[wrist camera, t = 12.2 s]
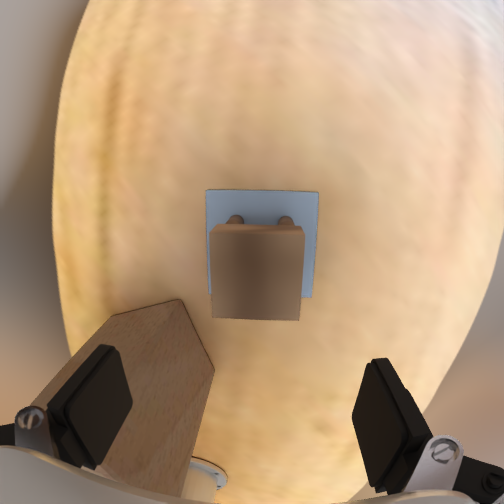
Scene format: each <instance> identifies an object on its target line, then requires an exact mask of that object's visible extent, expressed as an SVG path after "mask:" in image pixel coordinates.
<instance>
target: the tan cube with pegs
mask: <svg viewBox="0 0 504 504" xmlns="http://www.w3.org/2000/svg"><path fill="white" fill-rule="evenodd" d="M209 250H210V277H211V299H212V317H214V318H232V319H254V320H293V321H299V316H300V305H301V293H302V280H303V266H304V251H305V233H304V231H303V229H302V227H301V226H295V224H294V222H293V220H292V218H291V217H289V216H282V217H281V218H280V219H279V220H278V225H256V224H244V219H243V218H242V217H241V216H240V215H233V216H231V217H230V218H229V220H228V221H227V222H226V223H225V224H217V225H216V226H215V227H214V228H213V229H212V230H211V231H210V232H209Z"/></svg>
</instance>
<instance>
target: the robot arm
mask: <svg viewBox="0 0 504 504" xmlns="http://www.w3.org/2000/svg"><path fill="white" fill-rule="evenodd" d="M132 405H133V399H132V396H131V393H130V389H129V386H128V382H127V379H126V375H125V372H124V368H123V364H122V360H121V356H120V353H119V351H118V350H116V348H115V347H114V346H111V345H106V344H100V345H99V346H98V347H97V348H96V349H95V350H94V351H93V352H92V353H91V354H90V355H89V357H88V358H87V359H86V360H85V361H84V362H83V363H82V364H81V365H80V367H79V368H78V369H77V370H76V371H75V372H74V373H73V375H72V376H71V377H70V378H69V379H68V380H67V381H66V382H65V384H64V385H63V386H62V387H61V388H60V389H59V391H58V392H57V393H56V394H55V395H54V396H53V398H52V399H51V400H50V401H49V402H48V403H47V407H48V408H47V409H46V411H45V410H44V409H43V408H41V407H39V406H28V407H25V408H23V409H21V410H20V411H19V412H18V413H17V415H16V416H15V423H12V424H7V425H2V426H0V504H219V503H214V500H215V494H216V490H218V489H220V488H223V487H224V486H225V485H226V483H227V476H226V474H225V473H224V471H223V470H221V469H220V468H219V467H217V466H215V465H213V464H211V463H209V462H207V461H204V460H201V459H197V458H193V457H191V461H190V464H189V468H188V472H187V476H186V479H185V483H184V487H183V491H182V494H181V498H179V497H174V496H169V495H164V494H160V493H156V492H151V491H147V490H144V489H140V488H136V487H133V486H129V485H126V484H123V483H119V482H116V481H113V480H110V479H107V478H104V477H102V476H99V475H96V474H93V473H91V472H88V471H85V470H83V469H81V467H82V465H83V466H84V467H86V468H89V469H91V470H94V471H95V469H96V467H97V465H101V464H102V462H103V460H104V459H105V457H106V455H107V453H108V451H109V449H110V447H111V445H112V443H113V441H114V440H115V438H116V436H117V434H118V432H119V430H120V428H121V427H122V425H123V423H124V421H125V419H126V417H127V416H128V414H129V412H130V410H131V408H132ZM352 422H353V425H354V429H355V432H356V436H357V439H358V443H359V447H360V450H361V454H362V458H363V461H364V465H365V469H366V473H367V477H368V481H369V484H370V486H371V487H375V491H376V493H380V492H385V491H387V494H388V495H387V496H380V497H375V498H369V499H364V500H357V501H350V502H342V503H333V504H504V469H502V468H500V467H498V466H495V465H491V464H488V463H485V462H481V461H478V460H475V459H472V458H469V457H466V456H463V452H464V450H463V446H462V445H461V443H460V442H459V441H458V440H457V439H456V438H454V437H452V436H448V435H438V436H436V437H433V435H432V433H431V431H430V429H429V427H428V425H427V423H426V421H425V419H424V418H423V416H422V414H421V412H420V410H419V408H418V406H417V405H416V403H415V401H414V399H413V397H412V396H411V394H410V392H409V391H408V390H407V389H405V387H404V385H403V384H402V382H401V380H400V378H399V376H398V375H397V373H396V371H395V369H394V368H393V366H392V364H391V363H390V361H389V359H388V358H378V359H372V361H371V363H367V365H366V368H365V372H364V376H363V379H362V383H361V386H360V390H359V393H358V396H357V400H356V403H355V406H354V409H353V412H352Z"/></svg>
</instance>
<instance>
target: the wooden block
mask: <svg viewBox="0 0 504 504" xmlns="http://www.w3.org/2000/svg"><path fill="white" fill-rule="evenodd" d="M100 344H106V345H111V346H114V347H115V348H116V350H118V351H119V353H120V356H121V360H122V364H123V368H124V372H125V375H126V379H127V382H128V386H129V389H130V393H131V396H132V399H133V405H132V408H131V410H130V412H129V414H128V416H127V417H126V419H125V421H124V423H123V425H122V427H121V428H120V430H119V432H118V434H117V436H116V438H115V440H114V441H113V443H112V445H111V447H110V449H109V451H108V453H107V455H106V457H105V459H104V460H103V462H102V464H101V465H97V467H96V469H95V471H94V470H91V469H89V468H86V467H84V466H83V465H82V467H81V469H83V470H85V471H88V472H91V473H93V474H96V475H99V476H102V477H104V478H107V479H110V480H113V481H116V482H119V483H123V484H126V485H129V486H133V487H136V488H140V489H144V490H147V491H151V492H156V493H160V494H164V495H169V496H174V497H179V498H181V494H182V491H183V487H184V483H185V479H186V476H187V472H188V468H189V464H190V461H191V457H192V453H193V450H194V446H195V442H196V438H197V435H198V431H199V427H200V424H201V420H202V416H203V412H204V409H205V405H206V401H207V398H208V394H209V390H210V387H211V383H212V379H213V376H214V368H213V366H212V364H211V362H210V360H209V358H208V356H207V354H206V352H205V350H204V348H203V346H202V344H201V342H200V340H199V338H198V336H197V334H196V331H195V329H194V327H193V325H192V323H191V321H190V319H189V316H188V314H187V312H186V310H185V308H184V305H183V303H182V301H181V300H174V301H171V302H167V303H163V304H159V305H155V306H151V307H147V308H143V309H139V310H135V311H131V312H127V313H123V314H119V315H115V316H111V317H110V318H109V319H108V320H107V321H106V322H105V323H104V324H103V325H102V326H101V327H100V328H99V329H98V330H97V332H96V333H95V334H94V335H93V336H92V337H91V338H90V339H89V340H88V341H87V342H86V343H85V344H84V345H83V346H82V347H81V348H80V350H79V351H78V352H77V353H76V354H75V355H74V356H73V357H72V358H71V359H70V360H69V361H68V363H67V364H66V365H65V366H64V367H63V368H62V369H61V370H60V371H59V372H58V374H57V375H56V376H55V377H54V378H53V379H52V380H51V382H50V383H49V384H48V385H47V386H46V387H45V388H44V389H43V391H42V392H41V393H40V394H39V395H38V397H37V398H36V399H35V400H34V401H33V402H32V403H31V405H30V406H39V407H41V408H43V409H44V410H45V411H46V409H47V408H48V407H47V403H48V402H49V401H50V400H51V399H52V398H53V396H54V395H55V394H56V393H57V392H58V391H59V389H60V388H61V387H62V386H63V385H64V384H65V382H66V381H67V380H68V379H69V378H70V377H71V376H72V375H73V373H74V372H75V371H76V370H77V369H78V368H79V367H80V365H81V364H82V363H83V362H84V361H85V360H86V359H87V358H88V357H89V355H90V354H91V353H92V352H93V351H94V350H95V349H96V348H97V347H98V346H99V345H100Z"/></svg>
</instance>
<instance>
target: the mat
mask: <svg viewBox="0 0 504 504" xmlns="http://www.w3.org/2000/svg"><path fill="white" fill-rule="evenodd" d="M318 200H319V193H318V192H302V191H273V190H206V233H207V265H208V288H209V294H211V277H210V250H209V232H210V231H211V230H212V229H213V228H214V227H215V226H216V225H217V224H225V223H226V222H227V221H228V220H229V218H230V217H231V216H233V215H240V216H241V217H242V218H243V219H244V224H256V225H278V220H279V219H280V218H281V217H282V216H289V217H291V218H292V220H293V222H294V224H295V226H301V227H302V229H303V231H304V233H305V251H304V266H303V280H302V293H301V297H312V286H313V275H314V263H315V250H316V236H317V219H318Z"/></svg>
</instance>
